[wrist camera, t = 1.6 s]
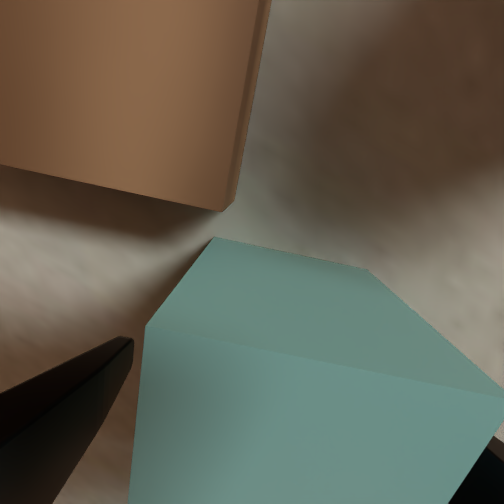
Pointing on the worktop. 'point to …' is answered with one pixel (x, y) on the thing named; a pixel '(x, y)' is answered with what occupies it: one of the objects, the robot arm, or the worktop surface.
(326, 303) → the teal block
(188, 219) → the worktop surface
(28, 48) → the walnut base
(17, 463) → the robot arm
